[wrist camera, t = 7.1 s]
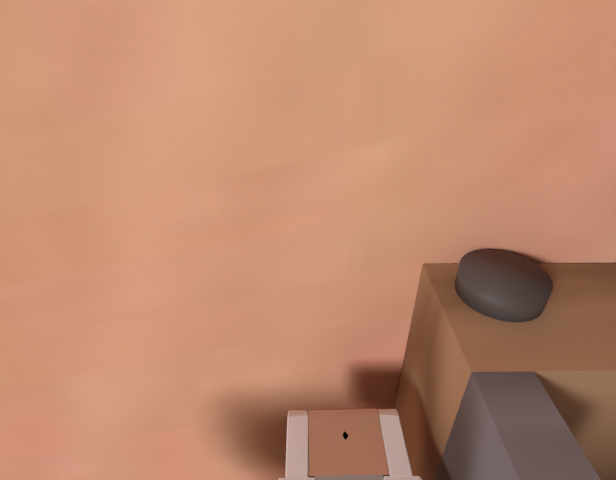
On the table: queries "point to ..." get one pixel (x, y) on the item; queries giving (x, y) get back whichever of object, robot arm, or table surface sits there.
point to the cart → (511, 370)
